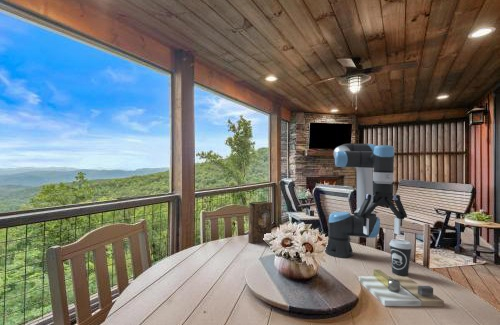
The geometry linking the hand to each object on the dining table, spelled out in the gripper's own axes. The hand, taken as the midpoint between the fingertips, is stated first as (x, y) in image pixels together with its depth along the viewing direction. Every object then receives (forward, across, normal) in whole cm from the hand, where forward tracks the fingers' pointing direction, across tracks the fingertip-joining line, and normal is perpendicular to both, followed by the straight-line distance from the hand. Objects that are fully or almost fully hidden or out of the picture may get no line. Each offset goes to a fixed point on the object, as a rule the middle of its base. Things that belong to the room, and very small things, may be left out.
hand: (381, 234), depth 107 cm
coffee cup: (+23, +19, +14) cm, 32 cm away
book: (+23, -42, +65) cm, 81 cm away
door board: (+22, +5, -4) cm, 23 cm away
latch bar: (+20, +2, -1) cm, 20 cm away
